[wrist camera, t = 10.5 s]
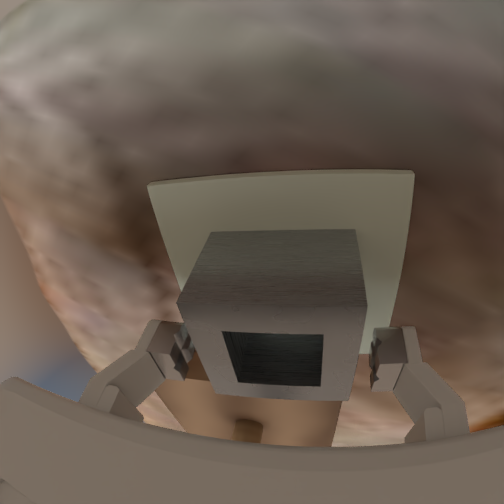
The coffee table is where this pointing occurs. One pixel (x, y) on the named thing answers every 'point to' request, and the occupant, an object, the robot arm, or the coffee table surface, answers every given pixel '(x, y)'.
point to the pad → (296, 219)
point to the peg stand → (247, 413)
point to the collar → (278, 312)
